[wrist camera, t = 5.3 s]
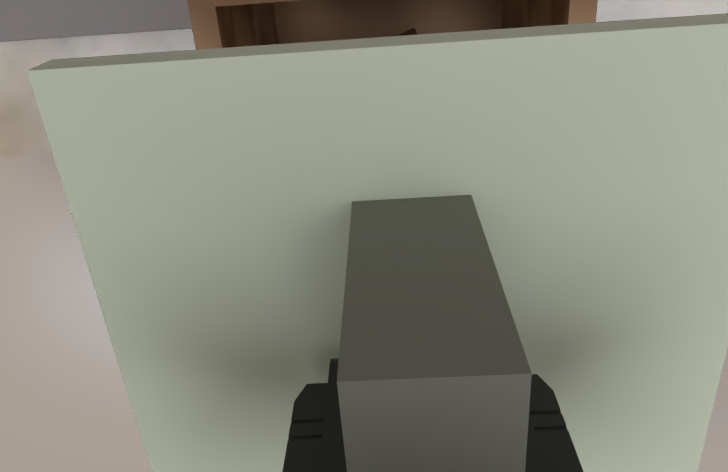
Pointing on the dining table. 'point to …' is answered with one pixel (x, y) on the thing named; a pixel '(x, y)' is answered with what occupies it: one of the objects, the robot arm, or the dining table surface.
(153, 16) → the mat
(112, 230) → the lid
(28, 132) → the dining table surface
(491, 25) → the box
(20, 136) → the dining table surface
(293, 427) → the robot arm
